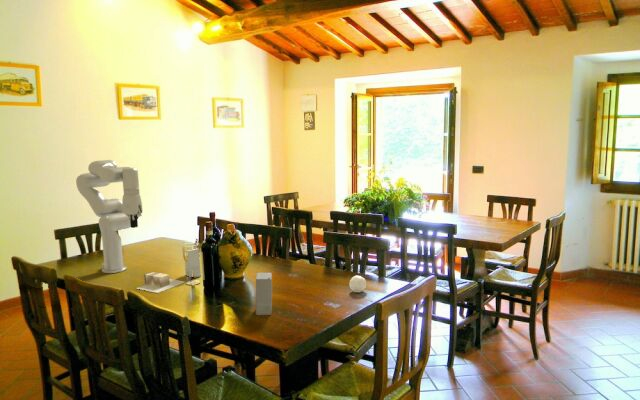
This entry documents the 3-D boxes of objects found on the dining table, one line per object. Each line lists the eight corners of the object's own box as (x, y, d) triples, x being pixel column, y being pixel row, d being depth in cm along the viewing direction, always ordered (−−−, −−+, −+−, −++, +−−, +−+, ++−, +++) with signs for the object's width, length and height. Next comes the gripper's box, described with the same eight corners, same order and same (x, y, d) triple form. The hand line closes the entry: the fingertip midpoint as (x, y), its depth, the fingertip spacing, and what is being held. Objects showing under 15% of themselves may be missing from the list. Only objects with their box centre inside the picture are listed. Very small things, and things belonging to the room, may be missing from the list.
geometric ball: (353, 298, 218) (343, 284, 218) (361, 287, 224) (351, 274, 224) (364, 293, 213) (353, 280, 213) (372, 283, 219) (361, 269, 218)
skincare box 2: (256, 308, 201) (255, 272, 199) (273, 307, 202) (272, 271, 199) (255, 316, 193) (253, 278, 190) (273, 315, 193) (271, 277, 191)
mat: (135, 288, 230) (135, 288, 230) (164, 278, 246) (164, 277, 246) (157, 293, 223) (157, 292, 223) (185, 282, 239) (185, 281, 239)
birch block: (144, 274, 235) (161, 277, 230) (152, 271, 240) (169, 274, 234) (145, 284, 236) (162, 287, 230) (153, 281, 241) (170, 284, 235)
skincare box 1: (201, 276, 248) (199, 249, 245) (189, 278, 244) (188, 250, 242) (195, 272, 254) (194, 246, 252) (184, 275, 251) (183, 247, 249)
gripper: (115, 192, 242) (118, 227, 244) (135, 193, 235) (138, 229, 237) (127, 190, 248) (130, 224, 251) (147, 191, 241) (150, 227, 244)
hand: (134, 227), depth 244 cm, fingers closed
